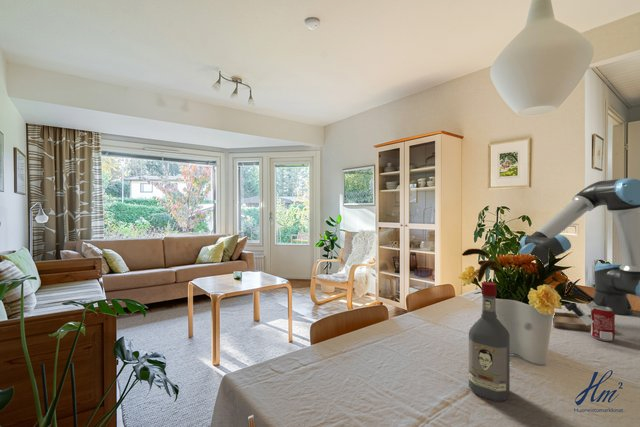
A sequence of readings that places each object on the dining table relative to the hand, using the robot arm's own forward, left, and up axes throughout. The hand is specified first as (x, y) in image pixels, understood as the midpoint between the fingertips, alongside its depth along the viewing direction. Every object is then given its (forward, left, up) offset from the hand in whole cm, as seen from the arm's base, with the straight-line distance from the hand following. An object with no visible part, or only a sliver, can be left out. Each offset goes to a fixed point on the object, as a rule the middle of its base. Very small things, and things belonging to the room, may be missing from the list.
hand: (597, 320), depth 118 cm
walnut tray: (+1, -15, -7) cm, 16 cm away
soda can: (-2, 0, -7) cm, 7 cm away
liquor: (+47, +51, -7) cm, 70 cm away
